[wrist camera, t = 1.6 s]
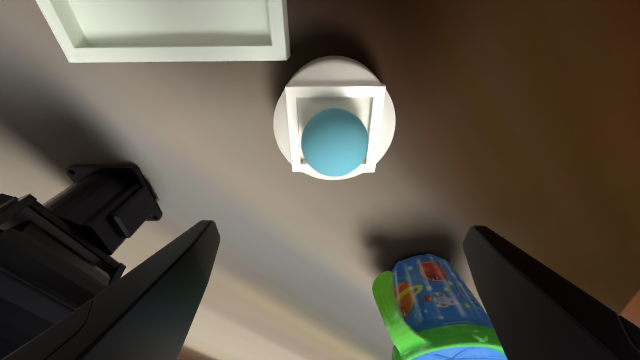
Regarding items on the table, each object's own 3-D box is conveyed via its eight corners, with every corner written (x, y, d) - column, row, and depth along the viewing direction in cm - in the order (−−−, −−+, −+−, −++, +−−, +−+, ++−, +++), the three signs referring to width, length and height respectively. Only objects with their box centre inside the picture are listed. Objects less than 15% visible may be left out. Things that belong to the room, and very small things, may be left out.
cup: (286, 157, 21) (278, 184, 18) (276, 56, 17) (263, 66, 13) (378, 157, 21) (387, 184, 18) (392, 54, 17) (409, 65, 13)
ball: (305, 156, 17) (299, 190, 14) (302, 99, 15) (294, 123, 12) (361, 156, 17) (369, 190, 14) (367, 99, 15) (378, 123, 12)
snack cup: (491, 279, 30) (553, 380, 22) (419, 310, 35) (448, 403, 27) (418, 215, 25) (465, 318, 16) (344, 262, 29) (351, 361, 21)
